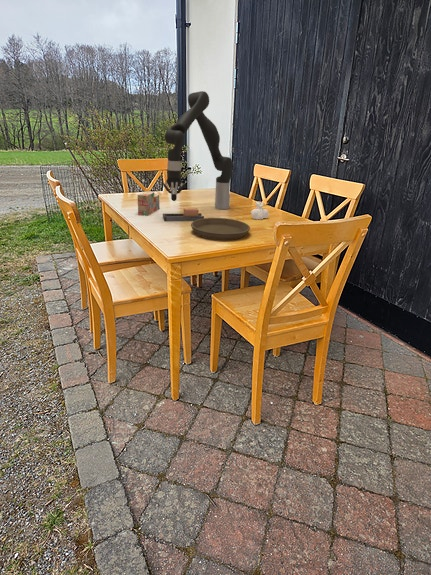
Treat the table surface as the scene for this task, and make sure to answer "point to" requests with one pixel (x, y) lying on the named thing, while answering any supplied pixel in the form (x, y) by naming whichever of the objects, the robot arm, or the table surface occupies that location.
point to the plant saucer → (220, 228)
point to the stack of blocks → (148, 203)
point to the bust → (259, 211)
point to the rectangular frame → (181, 217)
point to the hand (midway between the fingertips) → (173, 200)
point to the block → (191, 212)
